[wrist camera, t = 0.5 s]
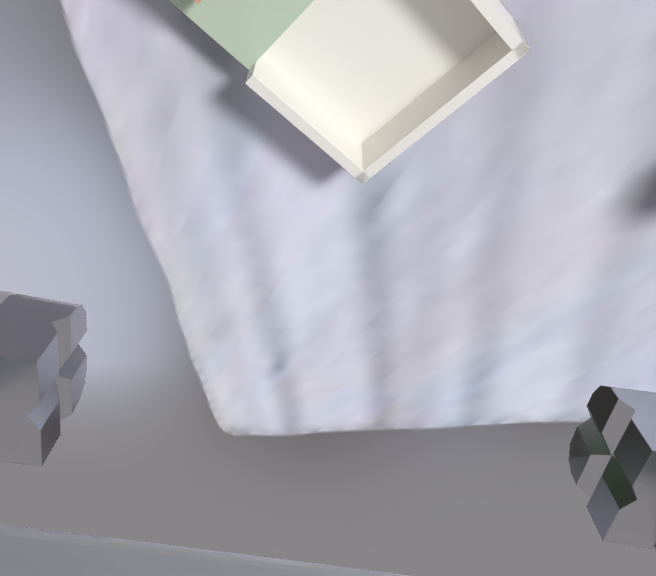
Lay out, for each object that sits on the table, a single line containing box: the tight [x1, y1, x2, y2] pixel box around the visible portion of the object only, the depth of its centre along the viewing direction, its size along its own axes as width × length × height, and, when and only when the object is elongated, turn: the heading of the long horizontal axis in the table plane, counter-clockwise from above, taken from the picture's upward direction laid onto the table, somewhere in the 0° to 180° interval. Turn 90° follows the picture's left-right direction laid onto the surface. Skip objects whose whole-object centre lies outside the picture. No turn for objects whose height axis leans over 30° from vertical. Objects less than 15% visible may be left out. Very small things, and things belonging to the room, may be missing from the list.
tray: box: [245, 0, 530, 184], centre depth 52 cm, size 18×14×5 cm
